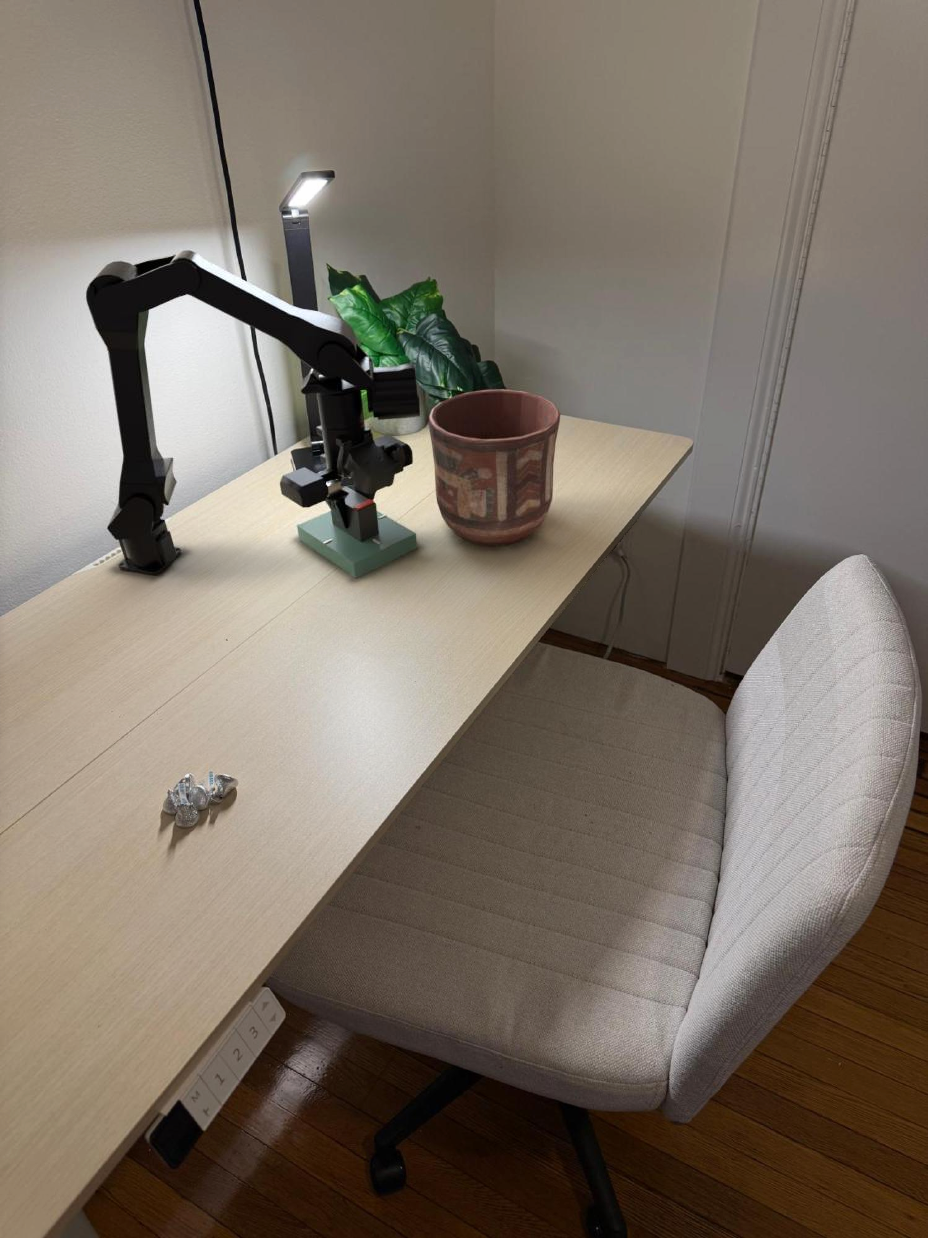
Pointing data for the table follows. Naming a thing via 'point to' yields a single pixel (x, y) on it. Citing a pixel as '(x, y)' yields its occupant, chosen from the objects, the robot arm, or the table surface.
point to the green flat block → (357, 543)
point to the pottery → (494, 463)
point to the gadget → (359, 516)
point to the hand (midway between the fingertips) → (354, 523)
